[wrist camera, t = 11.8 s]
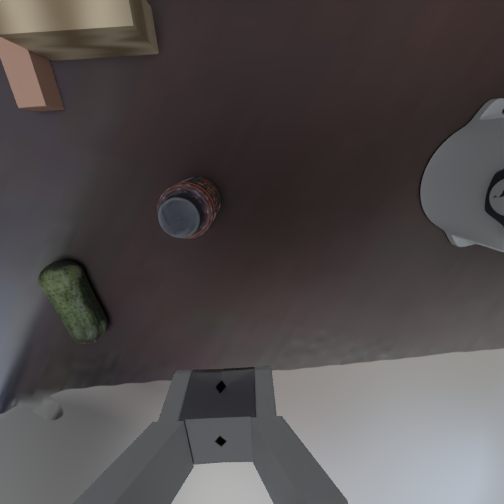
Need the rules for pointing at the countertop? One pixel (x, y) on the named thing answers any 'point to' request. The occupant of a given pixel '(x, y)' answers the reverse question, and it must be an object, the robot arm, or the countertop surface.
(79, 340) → the vegetable
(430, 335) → the countertop surface
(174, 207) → the supplement bottle
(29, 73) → the board
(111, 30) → the long beige block
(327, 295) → the countertop surface
